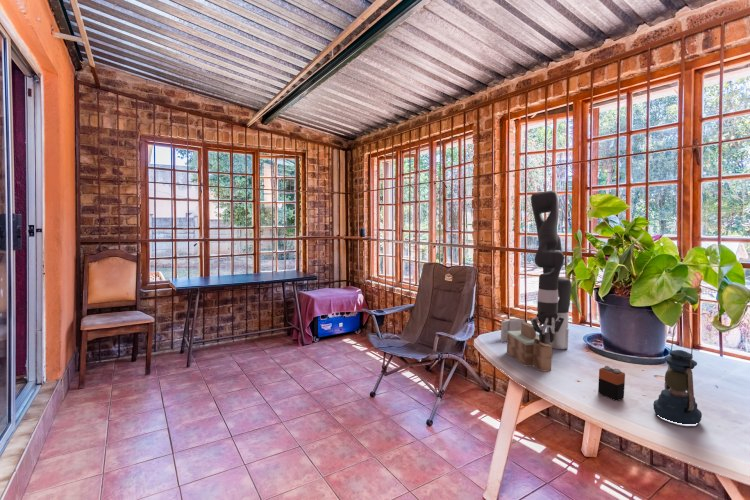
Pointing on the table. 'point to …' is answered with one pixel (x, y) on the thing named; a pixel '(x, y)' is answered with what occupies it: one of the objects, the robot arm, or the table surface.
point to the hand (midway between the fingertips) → (546, 342)
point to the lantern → (678, 388)
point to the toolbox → (530, 353)
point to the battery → (611, 383)
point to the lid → (525, 334)
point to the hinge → (510, 327)
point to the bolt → (547, 339)
